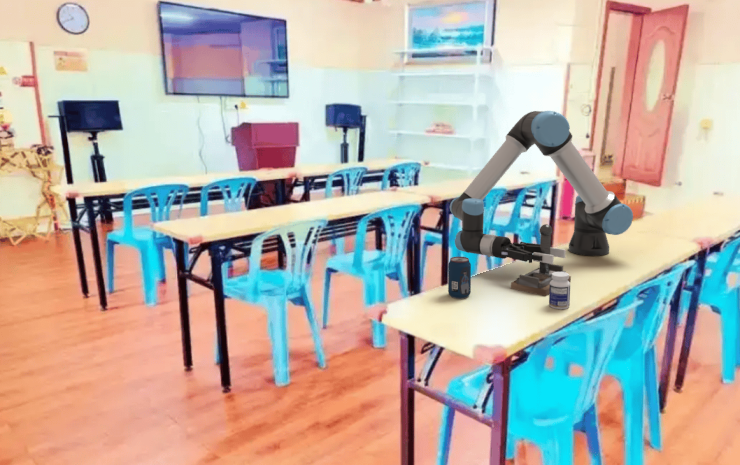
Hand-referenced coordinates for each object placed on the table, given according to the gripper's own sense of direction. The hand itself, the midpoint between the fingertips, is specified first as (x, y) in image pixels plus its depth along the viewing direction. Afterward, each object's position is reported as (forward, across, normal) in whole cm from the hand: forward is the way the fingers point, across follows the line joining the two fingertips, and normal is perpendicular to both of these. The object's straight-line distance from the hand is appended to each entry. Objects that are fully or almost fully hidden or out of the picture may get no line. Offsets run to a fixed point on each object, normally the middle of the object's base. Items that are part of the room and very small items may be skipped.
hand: (559, 256), depth 178 cm
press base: (-5, +2, -10) cm, 11 cm away
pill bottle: (+8, +17, -10) cm, 21 cm away
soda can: (-20, +27, -10) cm, 35 cm away
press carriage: (-5, 0, -8) cm, 9 cm away
